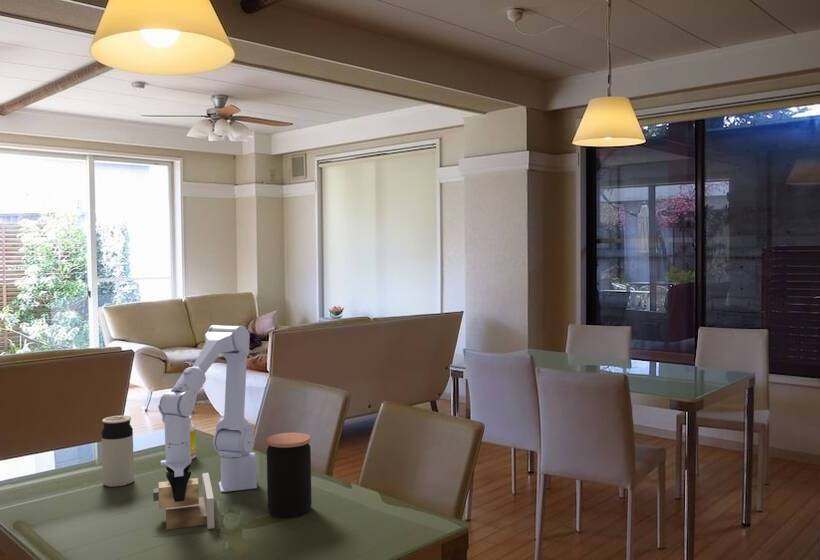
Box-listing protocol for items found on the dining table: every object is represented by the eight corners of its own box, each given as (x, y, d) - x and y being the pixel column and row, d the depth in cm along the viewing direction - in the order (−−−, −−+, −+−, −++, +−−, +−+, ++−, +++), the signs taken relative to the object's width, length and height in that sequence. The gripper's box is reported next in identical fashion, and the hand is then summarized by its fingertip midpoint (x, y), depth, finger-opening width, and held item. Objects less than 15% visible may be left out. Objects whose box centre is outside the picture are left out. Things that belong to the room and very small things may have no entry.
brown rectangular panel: (203, 504, 181) (203, 496, 181) (207, 524, 168) (206, 515, 168) (165, 508, 178) (165, 500, 178) (166, 529, 165) (166, 520, 165)
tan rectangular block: (198, 498, 176) (197, 477, 175) (198, 504, 171) (198, 483, 171) (153, 503, 172) (153, 482, 172) (153, 509, 168) (153, 488, 168)
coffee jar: (319, 505, 179) (318, 434, 178) (299, 520, 169) (297, 445, 168) (281, 500, 183) (280, 431, 182) (259, 515, 173) (257, 441, 172)
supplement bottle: (193, 453, 226) (192, 413, 225) (198, 459, 220) (197, 417, 220) (171, 457, 222) (170, 416, 222) (176, 462, 217) (175, 420, 216)
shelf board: (209, 499, 184) (208, 472, 184) (214, 528, 165) (213, 498, 165) (203, 500, 184) (202, 473, 183) (207, 528, 165) (207, 498, 164)
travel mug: (115, 489, 193) (113, 423, 192) (96, 484, 197) (94, 419, 196) (140, 481, 200) (138, 417, 199) (122, 476, 204) (120, 413, 203)
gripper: (160, 435, 177) (161, 489, 178) (159, 451, 163) (161, 509, 164) (189, 433, 179) (191, 486, 180) (192, 448, 166) (193, 506, 166)
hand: (179, 497), depth 172 cm, fingers closed on tan rectangular block, 4 cm apart
